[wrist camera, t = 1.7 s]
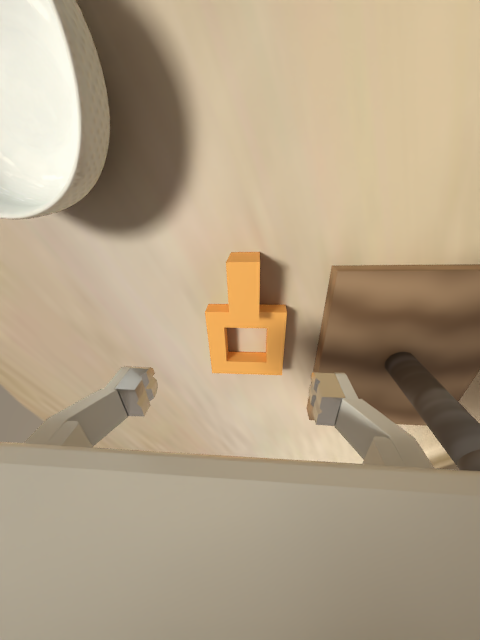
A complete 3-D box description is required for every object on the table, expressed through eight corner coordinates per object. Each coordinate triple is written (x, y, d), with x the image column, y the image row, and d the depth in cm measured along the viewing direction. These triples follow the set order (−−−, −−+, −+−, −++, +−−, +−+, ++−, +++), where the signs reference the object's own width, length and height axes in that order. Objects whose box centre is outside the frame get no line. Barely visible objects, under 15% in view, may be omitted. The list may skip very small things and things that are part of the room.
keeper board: (331, 265, 23) (423, 352, 10) (522, 264, 21) (906, 362, 9) (306, 408, 34) (335, 537, 21) (432, 413, 32) (545, 555, 19)
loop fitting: (202, 252, 23) (193, 262, 20) (289, 251, 22) (294, 261, 19) (215, 362, 31) (209, 384, 27) (280, 364, 30) (283, 386, 26)
